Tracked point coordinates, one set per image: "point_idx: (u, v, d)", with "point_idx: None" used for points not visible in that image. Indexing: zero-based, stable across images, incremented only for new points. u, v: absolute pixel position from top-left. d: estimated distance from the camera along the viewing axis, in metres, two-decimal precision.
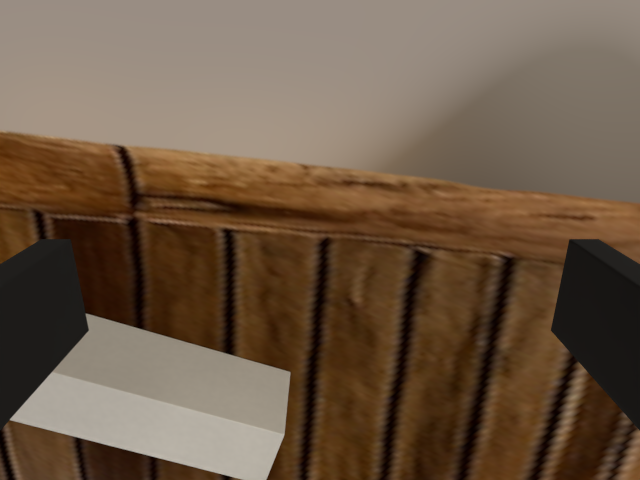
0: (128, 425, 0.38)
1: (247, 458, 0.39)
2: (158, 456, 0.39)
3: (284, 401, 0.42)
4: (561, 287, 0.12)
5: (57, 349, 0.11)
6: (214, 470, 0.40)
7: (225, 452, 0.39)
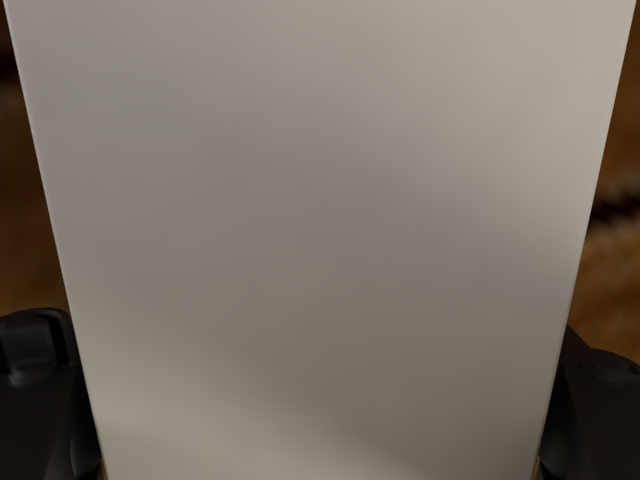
0: (284, 9, 0.04)
1: None
2: (82, 297, 0.05)
3: None
4: None
5: None
6: None
7: None
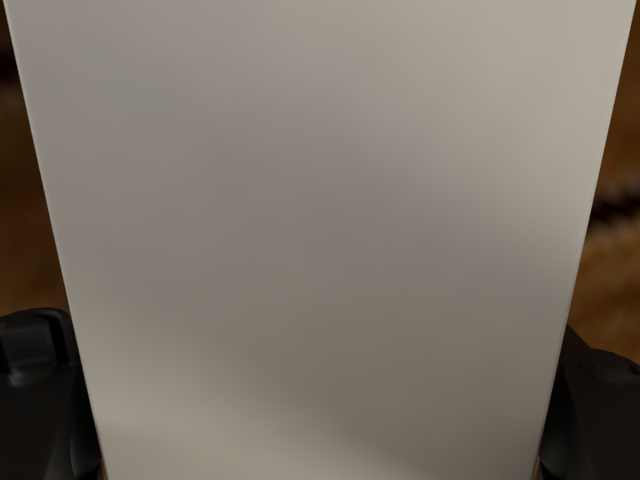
0: (284, 8, 0.04)
1: None
2: (82, 297, 0.05)
3: None
4: None
5: None
6: None
7: None
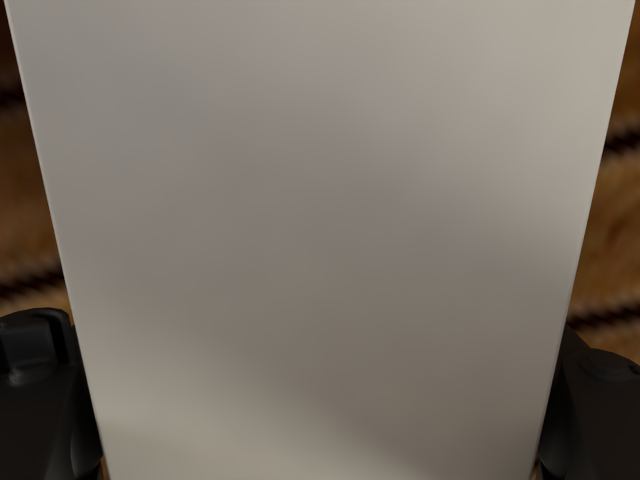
0: (285, 10, 0.04)
1: None
2: (83, 296, 0.05)
3: None
4: None
5: None
6: None
7: None
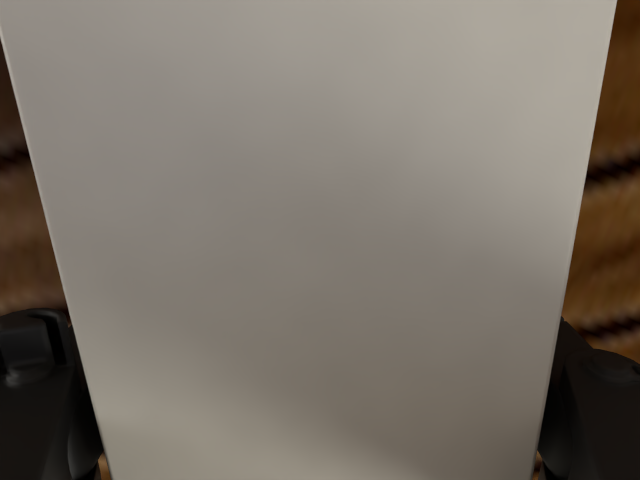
0: None
1: None
2: (79, 294, 0.05)
3: None
4: None
5: None
6: None
7: None
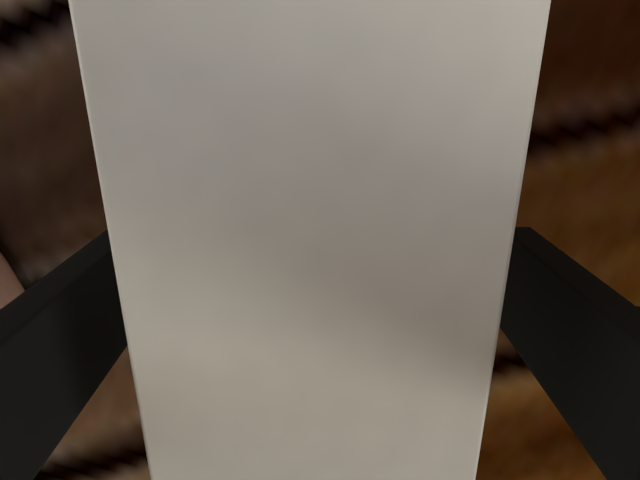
0: (283, 16, 0.06)
1: None
2: (122, 244, 0.07)
3: None
4: None
5: None
6: None
7: None
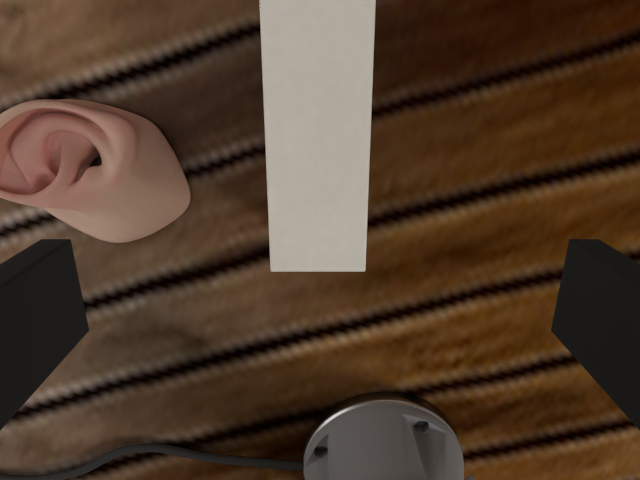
0: (311, 57, 0.24)
1: (310, 239, 0.28)
2: (267, 116, 0.25)
3: None
4: (561, 287, 0.12)
5: (57, 350, 0.11)
6: (271, 201, 0.27)
7: (309, 207, 0.27)
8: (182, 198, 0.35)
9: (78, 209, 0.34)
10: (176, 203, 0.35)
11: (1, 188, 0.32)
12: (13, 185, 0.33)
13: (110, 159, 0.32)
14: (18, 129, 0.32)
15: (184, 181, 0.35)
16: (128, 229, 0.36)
